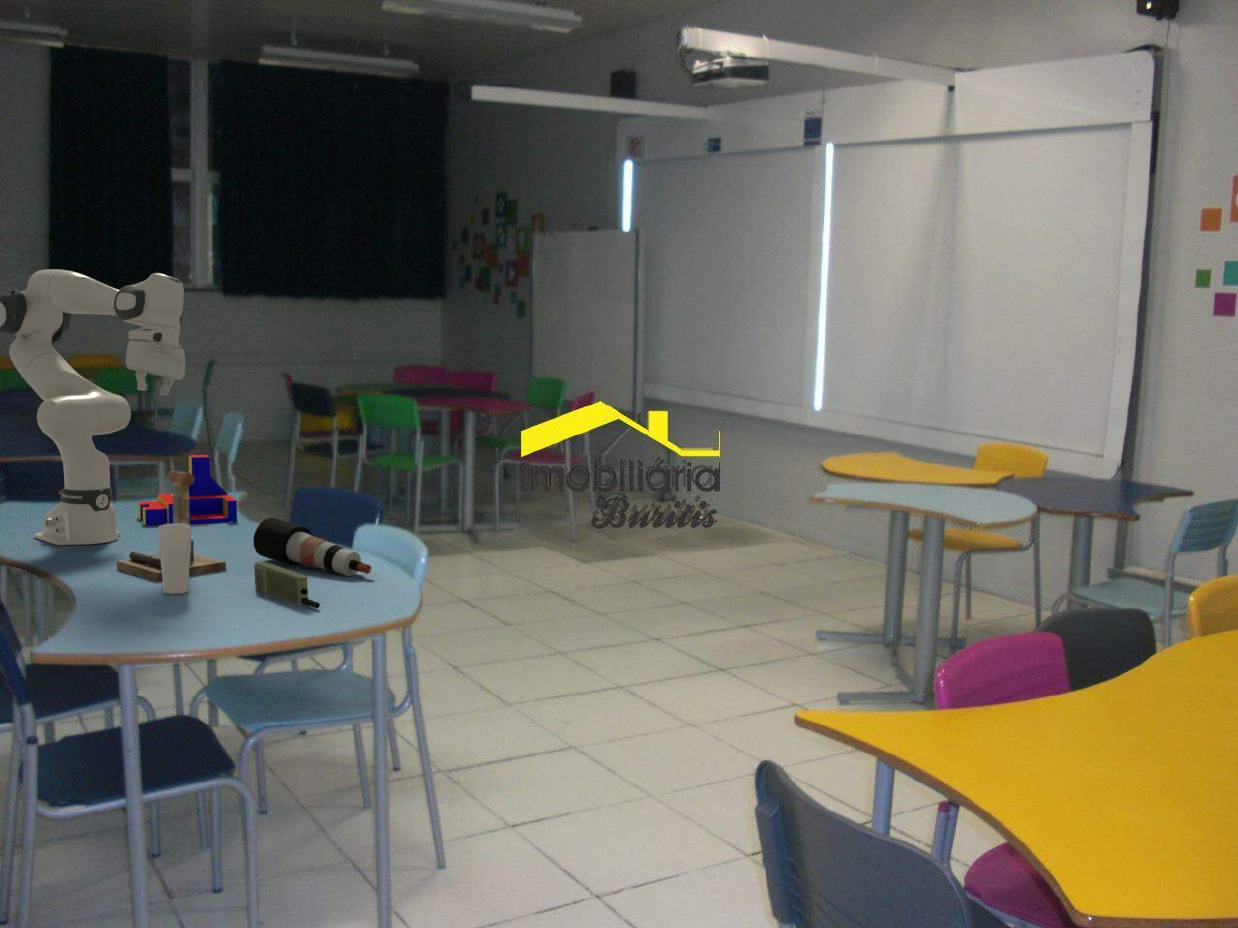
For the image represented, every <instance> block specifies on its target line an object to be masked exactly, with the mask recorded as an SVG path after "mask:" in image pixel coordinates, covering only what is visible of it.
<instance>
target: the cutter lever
mask: <svg viewBox="0 0 1238 928" xmlns="http://www.w3.org/2000/svg"><path fill="white" fill-rule="evenodd" d="M167 477H168V480H169V481H170V482H172V483H174V484H173V485H174V486H173V487H174V488H173V490H172V494H173V524H175V523H180V524H188V525H189V485H192V484H193V483H194V481H195V478H194V476H193V475H192V474H189V472H183V471H178V470H172V471H170V472H169V473H168V476H167Z"/></svg>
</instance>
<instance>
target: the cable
mask: <svg viewBox="0 0 1238 928" xmlns="http://www.w3.org/2000/svg"><path fill="white" fill-rule="evenodd" d="M252 542H253V548H254V550H255V552H256V554H257V555H259V556H261V557H263V558H267V559H269V560H270V559H271V560H272V561H276V562H279V563H282V564H285V565H288V566H290V567H291V566H292V567H294V566H297V564H299V565H302V564H303V565H304V566H310V567H313V568H315V569H320V570H325V571H327V572H333V573H337V574H340V575H341V576H342V575H343V576H346V577H351V575H352V576H355V575H356V574H357V573H359V572H360V573H362V574H363V573H364V574H366V575H368V574H371V571H372V566H371V565H370V564H367V563H365V562H362V558H361V555H360V553H358V552H357V551H354V550H350V549H348V548H345V547H342V546H340V545H338V544H334V543H333V542H332V543H331V542H330V541H329V540H327V539H324V538H319V537H317V536H313V535H312V533H311V530H310V529H308V528H307V527H306V526H303V525H300V524H297V523H294V522H290V521H288V520H284V519H282V518H278V517H273V516H272V517H268V518H265V519H264V520H263V521H261V522H260V523H259V524H258V526H257V527H256V529H255V532H254V535H253V541H252ZM293 565H294V566H293Z"/></svg>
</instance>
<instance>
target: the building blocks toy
mask: <svg viewBox="0 0 1238 928" xmlns="http://www.w3.org/2000/svg"><path fill="white" fill-rule="evenodd" d="M188 473H189V474H192V475H193V476H194V478H195V481H194V483H193V484H192V485H189V525H190V526H191V525H192V526H193V525H204V524H205V525H206V524H208V525H209V524H222V523H221V522H225V523H232V522H231V521H237V522H238V500H237V499H235V498H234V497H233V496H231V495H230V494H229V493H227V492H226V490H225V489H224V488H223V487H221V486H220V484H219V483H218V482H216V481H215V479H214V478H213V477H212V476H211V457H210V456H209V455H207V454H197V455H195V454H194V455H188ZM137 516H138V517H137V519H139V521H142V524H143V525H144V526H145V527H149V526H161V525H164V524H173V493H162V494H161V493H159V494H157V500H155V501H152V500H151V501H138V502H137Z"/></svg>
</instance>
